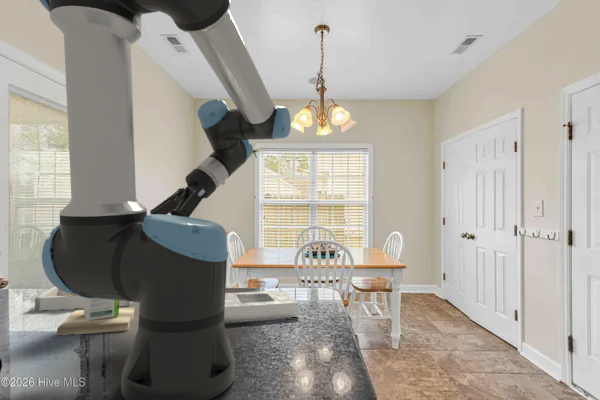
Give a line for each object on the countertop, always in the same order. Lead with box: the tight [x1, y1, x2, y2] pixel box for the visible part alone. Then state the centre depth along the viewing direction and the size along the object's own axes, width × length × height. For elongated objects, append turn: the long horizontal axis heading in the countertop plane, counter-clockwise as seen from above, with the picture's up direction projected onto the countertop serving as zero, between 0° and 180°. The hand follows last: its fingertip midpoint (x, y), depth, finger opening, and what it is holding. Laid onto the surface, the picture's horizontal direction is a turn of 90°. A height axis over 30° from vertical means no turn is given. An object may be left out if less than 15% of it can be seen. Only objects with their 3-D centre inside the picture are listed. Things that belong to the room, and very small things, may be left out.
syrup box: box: [83, 298, 120, 321], centre depth 72 cm, size 6×6×14 cm
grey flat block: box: [224, 289, 300, 325], centre depth 82 cm, size 13×18×4 cm
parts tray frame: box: [33, 286, 133, 312], centre depth 88 cm, size 14×20×3 cm
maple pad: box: [56, 306, 136, 336], centre depth 71 cm, size 12×12×2 cm
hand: (141, 238), depth 77 cm, fingers open, 13 cm apart
